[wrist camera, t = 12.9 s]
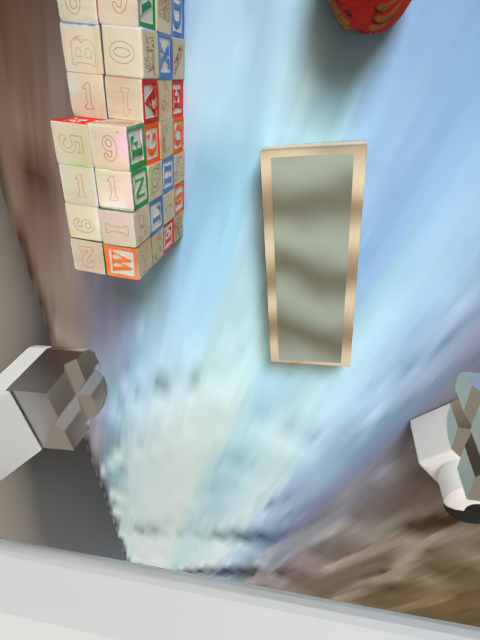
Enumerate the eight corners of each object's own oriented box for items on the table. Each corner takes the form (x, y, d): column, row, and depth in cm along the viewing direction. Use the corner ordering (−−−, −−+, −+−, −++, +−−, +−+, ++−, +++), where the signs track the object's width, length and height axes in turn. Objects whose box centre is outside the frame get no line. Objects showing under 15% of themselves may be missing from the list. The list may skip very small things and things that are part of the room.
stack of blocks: (116, -12, 33) (19, -53, 23) (185, -7, 32) (116, -47, 22) (133, 228, 45) (72, 271, 35) (184, 236, 44) (138, 283, 34)
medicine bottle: (492, 431, 49) (532, 521, 39) (439, 451, 52) (463, 538, 43) (460, 396, 47) (494, 480, 37) (408, 419, 51) (425, 502, 41)
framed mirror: (266, 145, 37) (259, 152, 34) (364, 139, 35) (367, 145, 32) (275, 343, 49) (270, 362, 46) (348, 346, 47) (349, 367, 44)
